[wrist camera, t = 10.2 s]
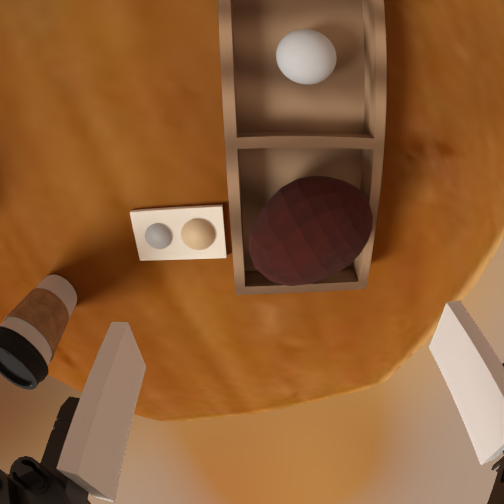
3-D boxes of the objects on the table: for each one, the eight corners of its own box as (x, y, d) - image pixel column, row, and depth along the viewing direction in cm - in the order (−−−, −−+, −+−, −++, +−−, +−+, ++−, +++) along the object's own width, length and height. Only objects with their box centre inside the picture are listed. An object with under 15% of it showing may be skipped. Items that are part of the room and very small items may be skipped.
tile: (131, 210, 33) (129, 213, 32) (222, 204, 33) (221, 207, 32) (141, 258, 36) (139, 261, 35) (226, 255, 36) (226, 258, 35)
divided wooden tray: (221, -14, 22) (217, -26, 19) (367, -7, 22) (382, -17, 18) (237, 273, 37) (235, 294, 34) (356, 269, 37) (365, 288, 34)
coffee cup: (90, 284, 38) (40, 369, 25) (80, 324, 42) (40, 404, 29) (39, 256, 36) (-23, 329, 23) (34, 298, 40) (-15, 370, 26)
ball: (272, 33, 24) (277, 23, 19) (327, 35, 24) (342, 26, 19) (274, 84, 26) (279, 83, 22) (329, 85, 26) (343, 86, 22)
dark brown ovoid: (369, 213, 32) (404, 258, 24) (274, 269, 36) (280, 326, 28) (330, 143, 29) (361, 169, 21) (227, 209, 32) (219, 255, 24)
